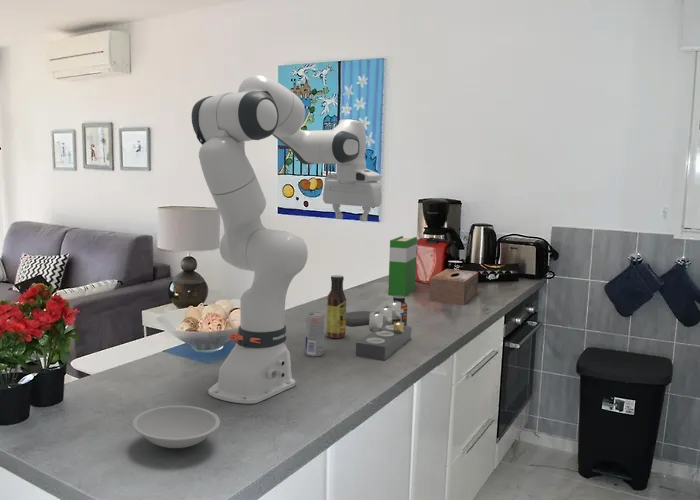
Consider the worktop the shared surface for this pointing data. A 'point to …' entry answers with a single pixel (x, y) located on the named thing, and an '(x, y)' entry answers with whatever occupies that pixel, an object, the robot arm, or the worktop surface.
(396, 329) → the brass dome cylinder
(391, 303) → the knob far
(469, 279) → the tissue box cover
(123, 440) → the worktop surface
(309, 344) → the energy drink
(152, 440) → the dish
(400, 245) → the hardback book
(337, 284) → the sauce bottle
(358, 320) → the spray bottle
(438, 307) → the worktop surface
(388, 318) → the knob mid
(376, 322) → the knob near
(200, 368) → the worktop surface
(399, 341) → the mount
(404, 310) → the supplement bottle
